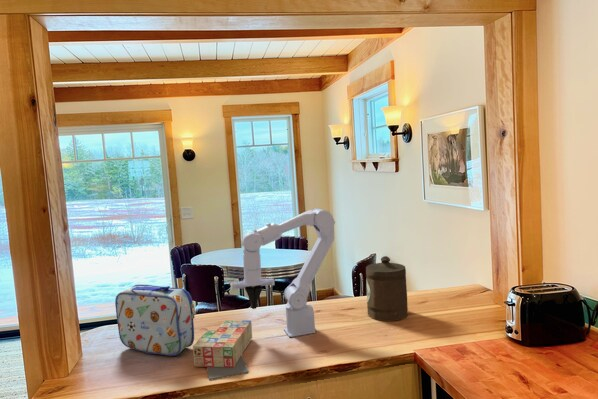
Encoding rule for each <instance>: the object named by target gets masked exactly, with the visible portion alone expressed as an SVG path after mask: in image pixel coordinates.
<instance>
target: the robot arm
mask: <svg viewBox="0 0 598 399" xmlns="http://www.w3.org/2000/svg"><path fill="white" fill-rule="evenodd" d="M335 223H336V221H335V219H334V217H333V214H332V213H331V211H328V210H325V209H322V208H320V207H315V208H313V209H309V210H306V211H304V212H302V213H300V214H297V215H296V216H294V217H292V218H289V219H287V220H285V221H283V222H281V223H279V224H277V223H275V222H271V223H270V222H268V223H266V226H262V227H261V228H258V229H252V230H253V232H252V231H251V232H246V233H245V234H244V235H243V236H242V240H240V241H241V245H242V246H243V251H242V253H243V255H242V256H243V257H242V259H243V261H242V262H243V280H240V281H234V282H231V283H230V289H231V290H232V291H234V290H237V289H244V290H245V293H246V294H247V297H248V299H249V301H250V307H251V309H252V310H253V309H254V310H255V309H257V306H258V302H259V297H260V295H261V293H262V291H263V288H262V287H263V286H275V279H274V278H262V268H261V266H262V265H261V264H262V263H261V261H262V260H261V253H260V251H261V250H260V248H261V247H262V246H263V247H264V246H266V245H268V244H271V243H272V242H275V241H277V240H280V239H281V237H282V235H283V234H284V233H287V232H289V231H293V230H294V229H297V228H299V227H302V226H309V227H314V230H315V231H316V232H315V233H316V235H317V239H316V241H315V243H314V245H313V247H312V248H311V250H310V252H309V254H308V256H307V258H306V260H305V261H304V264H303V266H302V267H301V269H300V271H299V273H298V275H297V277H295V278H294V279H293V280H292V282H291V283H290V284H289V285H288V286H287V287H286V288H285V289H284V292H283V294H284V295H283V296H284V298H285V300H286V301H287V303H286V304H285V317H286V319H285V320H286V327H283V330H284V332H285V333H286V334H287V336H288V337H290V338H293V337H300V336H304V335H310V334H315V333H316V332H317V331H316V326H315V325H316V324H315V311H314V308H313V306H312V305H311V304H307V303H308V296H309V295H310V292H311V291H310V290H311V284H312V282H313V280H314V279H315V276H316V275H317V272H319V269H320V267H321V265H322V263H323V261H324V259H325V257H326V256H327V254H328V252H329V251H330V250H329V249H330V248H331V246H332V244H333V242H334V241H335Z"/></svg>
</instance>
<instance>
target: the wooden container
mask: <svg viewBox="0 0 598 399" xmlns="http://www.w3.org/2000/svg"><path fill="white" fill-rule="evenodd" d="M380 261H381V262H375V263H371V264H368V265H367V266H366V267H365V277H366V280H365V281H366V305H367V307H366V308H367V309H366V310H367V315H368V317H369V318H371V319H374V320H377V321H383V322H394V321H400V320H403V319H405V318H407V316H408V315H409V312H408V311H409V308H408V291H407V276H406V274H407V269H406V265H404V264H401V263H398V262H397V263H395V262H390V261H391V258H390V257H389V256H387V255H385V256H382V257H381V258H380Z"/></svg>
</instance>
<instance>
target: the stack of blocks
mask: <svg viewBox="0 0 598 399" xmlns="http://www.w3.org/2000/svg"><path fill="white" fill-rule="evenodd" d="M252 328H253V327H252V320H251V319H250V320H241V319H240V320H225V321H223V323H222V324H221V325H220V326H219V327H218V329H216V330H206V332H204V334H203V335H202V336H201V337H200V338H199V339H198V340H197V341H196V342H195V344H194V345H193V346H192V349H193V350H192V351H193V352H192V353H193V366H194V367H203V368H204V367H205V368H207V367H234V366H235V365H236V363H237V361H238V360H239V357H240V356H241V355H242V354H243V353H244V351H245V350H246V348H247V347H248V345H249V344H250V342H251V341H252V339H253V329H252ZM242 356H243V355H242Z"/></svg>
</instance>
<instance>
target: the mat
mask: <svg viewBox="0 0 598 399" xmlns="http://www.w3.org/2000/svg"><path fill="white" fill-rule="evenodd" d="M206 371H207V375H209V376H208V380H209V381H212V379H213V380H218V379H223V378H222V377H224V378H228V377H227V376H229V377H232V375H234V376H238V375H237V374H239V375H243V374H242V373H244V374H248V372H249V373H250V370H249V369H248V366H247V364H246V362H245V359H244V356H243V355H241V356H240V357H239V360H238V361H237V363H236V365H235V366H234V367H206ZM217 378H218V379H217Z"/></svg>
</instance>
